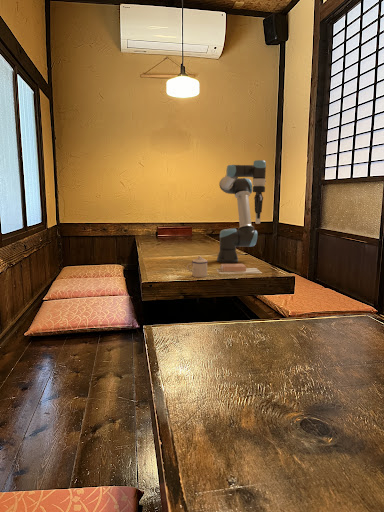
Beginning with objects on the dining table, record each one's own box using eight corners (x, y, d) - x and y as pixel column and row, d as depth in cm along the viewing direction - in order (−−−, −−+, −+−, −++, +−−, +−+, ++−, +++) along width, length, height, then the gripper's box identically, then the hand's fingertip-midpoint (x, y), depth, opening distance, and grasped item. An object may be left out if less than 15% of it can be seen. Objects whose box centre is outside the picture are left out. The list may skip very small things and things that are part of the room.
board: (214, 268, 235) (214, 267, 235) (254, 268, 237) (254, 266, 237) (219, 275, 215) (219, 273, 215) (262, 274, 217) (262, 272, 217)
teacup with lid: (208, 274, 218) (208, 255, 216) (206, 277, 209) (207, 257, 207) (188, 273, 220) (188, 254, 218) (186, 277, 211) (186, 257, 209)
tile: (242, 268, 231) (220, 268, 230) (242, 263, 231) (220, 263, 230) (246, 271, 222) (223, 271, 220) (246, 266, 221) (223, 266, 220)
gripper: (267, 185, 221) (266, 224, 224) (262, 186, 234) (260, 222, 237) (255, 185, 220) (254, 224, 224) (250, 186, 233) (249, 223, 237)
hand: (257, 223), depth 231 cm, fingers closed
